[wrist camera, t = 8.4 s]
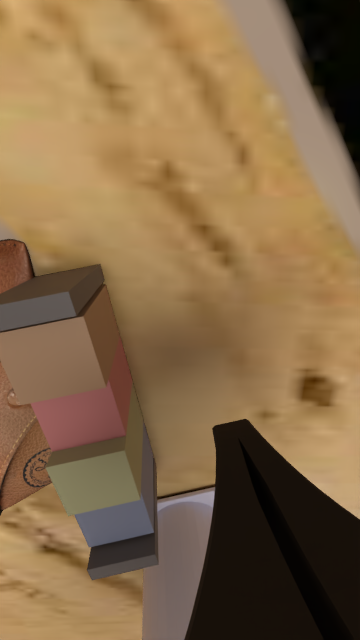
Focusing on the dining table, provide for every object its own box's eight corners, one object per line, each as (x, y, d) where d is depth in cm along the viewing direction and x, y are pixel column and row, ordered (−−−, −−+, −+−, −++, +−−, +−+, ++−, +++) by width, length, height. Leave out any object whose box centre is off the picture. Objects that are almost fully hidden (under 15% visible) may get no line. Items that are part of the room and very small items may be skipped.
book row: (156, 466, 23) (158, 564, 16) (108, 476, 23) (92, 580, 16) (100, 264, 17) (68, 291, 10) (35, 276, 17) (-38, 312, 10)
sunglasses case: (114, 458, 22) (48, 548, 17) (55, 443, 25) (-17, 514, 20) (22, 228, 16) (-133, 252, 10) (-41, 247, 19) (-184, 272, 14)
